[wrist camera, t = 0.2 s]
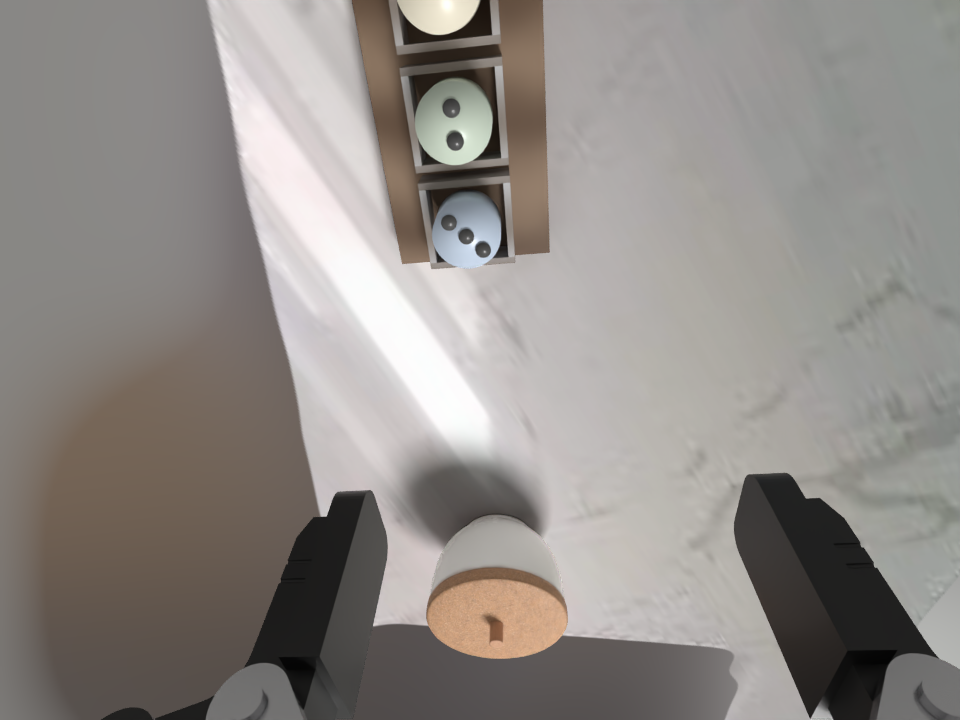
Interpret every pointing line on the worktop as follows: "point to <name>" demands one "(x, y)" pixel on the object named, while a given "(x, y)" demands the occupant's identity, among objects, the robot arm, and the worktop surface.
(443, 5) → the one-pip button
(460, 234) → the three-pip button
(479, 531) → the lidded bowl
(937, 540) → the worktop surface
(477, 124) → the two-pip button
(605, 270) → the worktop surface
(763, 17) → the worktop surface
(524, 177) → the button panel
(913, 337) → the worktop surface
